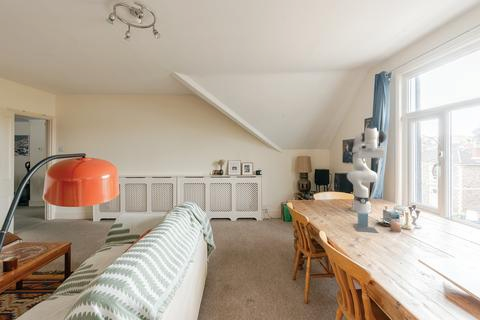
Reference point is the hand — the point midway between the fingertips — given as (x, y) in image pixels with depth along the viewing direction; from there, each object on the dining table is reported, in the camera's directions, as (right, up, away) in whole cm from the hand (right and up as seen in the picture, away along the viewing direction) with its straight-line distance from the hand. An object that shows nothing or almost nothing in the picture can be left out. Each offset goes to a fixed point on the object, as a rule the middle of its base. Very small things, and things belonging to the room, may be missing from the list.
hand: (370, 163), depth 177 cm
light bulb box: (+13, -48, -6) cm, 50 cm away
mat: (-14, -49, -17) cm, 53 cm away
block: (-11, -48, -8) cm, 50 cm away
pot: (+6, -49, -20) cm, 53 cm away
